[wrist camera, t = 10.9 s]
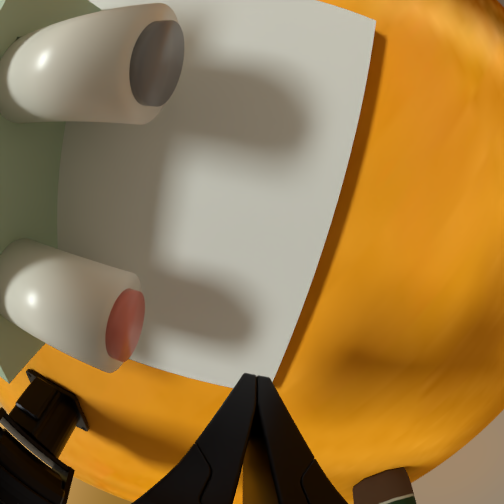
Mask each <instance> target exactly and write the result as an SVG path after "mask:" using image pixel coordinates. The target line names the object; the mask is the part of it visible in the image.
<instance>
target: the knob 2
mask: <svg viewBox="0 0 504 504" xmlns="http://www.w3.org/2000/svg"><path fill="white" fill-rule="evenodd" d="M0 314H1V315H2V316H3V317H4V318H6V319H7V320H9V321H10V322H12V323H13V324H15V325H16V326H18V327H20V328H21V329H23V330H24V331H26V332H28V333H29V334H31V335H33V336H34V337H36V338H38V339H40V340H41V341H43V342H45V343H47V344H48V345H50V346H52V347H54V348H56V349H58V350H60V351H62V352H64V353H66V354H68V355H70V356H72V357H74V358H76V359H78V360H80V361H82V362H84V363H86V364H89V365H91V366H93V367H95V368H98V369H100V370H102V371H105V372H107V373H112V372H114V371H116V370H117V369H118V368H119V367H120V366H121V365H122V364H123V362H125V361H126V360H128V359H129V358H130V356H131V355H132V353H133V352H134V350H135V348H136V345H137V343H138V340H139V337H140V334H141V331H142V326H143V321H144V314H145V300H144V296H143V294H142V288H141V283H140V280H139V278H138V276H137V275H136V274H134V273H132V272H128V271H125V270H122V269H118V268H115V267H112V266H108V265H105V264H102V263H99V262H96V261H92V260H89V259H86V258H83V257H80V256H77V255H74V254H71V253H68V252H65V251H62V250H59V249H56V248H53V247H50V246H48V245H45V244H42V243H39V242H36V241H34V240H31V239H27V238H22V239H18V240H15V241H14V242H12V243H11V244H9V245H8V246H7V247H6V248H5V250H4V251H3V252H2V254H1V255H0Z"/></svg>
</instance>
